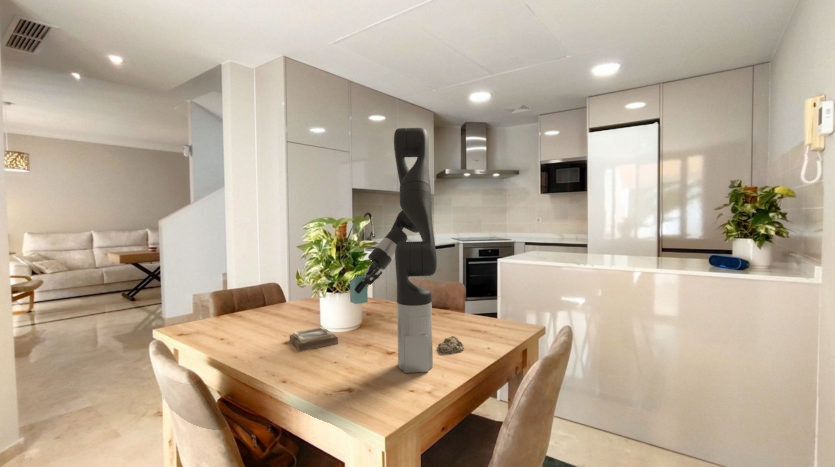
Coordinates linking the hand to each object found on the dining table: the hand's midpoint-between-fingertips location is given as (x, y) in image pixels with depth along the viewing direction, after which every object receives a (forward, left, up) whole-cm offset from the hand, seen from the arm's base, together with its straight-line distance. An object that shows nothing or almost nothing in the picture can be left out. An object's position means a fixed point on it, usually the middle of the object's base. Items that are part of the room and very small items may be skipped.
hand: (353, 290), depth 129 cm
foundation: (-7, +12, -15) cm, 21 cm away
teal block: (+1, -2, -4) cm, 5 cm away
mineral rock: (-17, -31, -16) cm, 39 cm away
